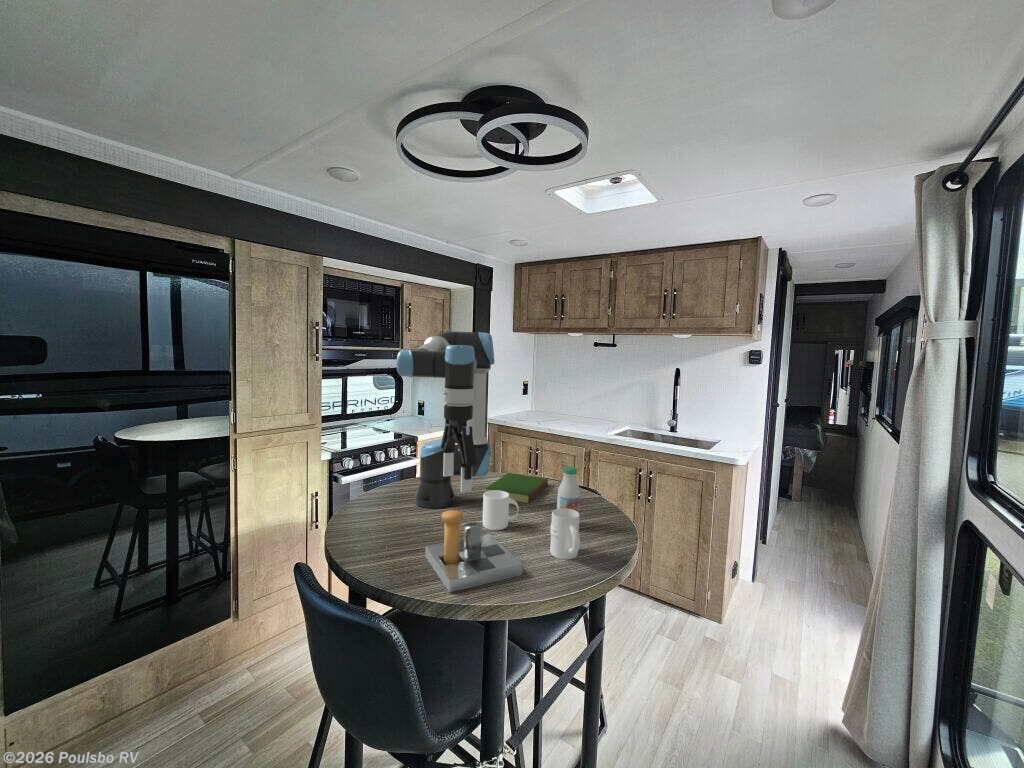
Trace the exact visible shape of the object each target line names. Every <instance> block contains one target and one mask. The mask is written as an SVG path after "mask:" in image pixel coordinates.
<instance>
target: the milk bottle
mask: <svg viewBox="0 0 1024 768" xmlns="http://www.w3.org/2000/svg"><path fill="white" fill-rule="evenodd" d="M562 470H563V471H562V472H563V477H562V480H561V482H560V485H559V486H558V490H557V497H556V498H557V499H556V509H559V508H567V509H572V510H575V511H577V512H578V513H579V515H580V512H581V489H580V486H579V483H578V479H577V475H578V468H577V467H575V466H569V465H568V466H564V467H563V468H562ZM579 519H580V516H579Z"/></svg>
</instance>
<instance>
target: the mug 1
mask: <svg viewBox="0 0 1024 768" xmlns="http://www.w3.org/2000/svg"><path fill="white" fill-rule="evenodd" d="M482 495H483V498H482V499H483V500H482V501H483V502H482V527H484V528H485V529H487V530H489V531H502V530H504V529H507V527H508V526H509V523H510V522H513V521H514V520H515V519H516V518H517V517H518V516H519V511H520V509H519V504H518V501H515V500H513V499H511V498H509V494H508V493H507V492H504V491H499V490H492V491H487V492H486V491H485V492H484V493H483V494H482ZM510 504H512V505H515V507H516V508H517V509H516V513H515V514H514V515H512V516H511V515H509V512H510Z"/></svg>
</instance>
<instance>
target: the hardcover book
mask: <svg viewBox="0 0 1024 768" xmlns="http://www.w3.org/2000/svg"><path fill="white" fill-rule="evenodd" d="M548 482H549V479H548V477H547V478H546V477H541V476H540V477H539V476H532V475H526V474H519V473H511V472H507V473H506V474H504V475H503V476H501V477H500V478H498V479H497V480H495V481H494V482H493V483H491V484H490V485H488V486H486V487H485V492H487V491H492V490H499V491H504V492H507V493H508V494H509V498H511V499H513V500H515V501H516V502H518V503H519V502H521V503H525V504H531V503H532V502H533V501H534V500H535V499H536V498H537V497H538V496H539V495H540V494H541V493H542V492H544V490H545V489H547V488H548V485H549V483H548Z"/></svg>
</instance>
